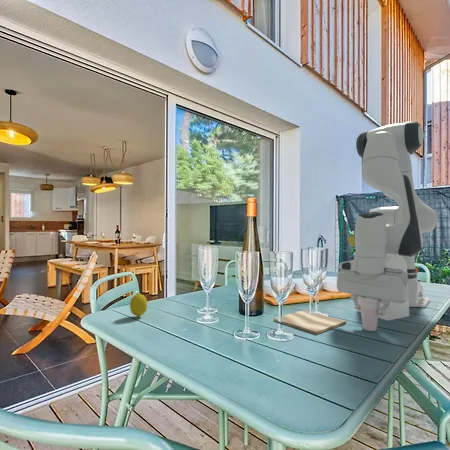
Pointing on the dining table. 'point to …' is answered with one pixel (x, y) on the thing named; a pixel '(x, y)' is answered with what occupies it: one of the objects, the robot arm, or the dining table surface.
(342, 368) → the dining table surface
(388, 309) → the milk
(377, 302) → the smoothie
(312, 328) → the oak board
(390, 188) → the robot arm
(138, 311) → the lemon
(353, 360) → the dining table surface
